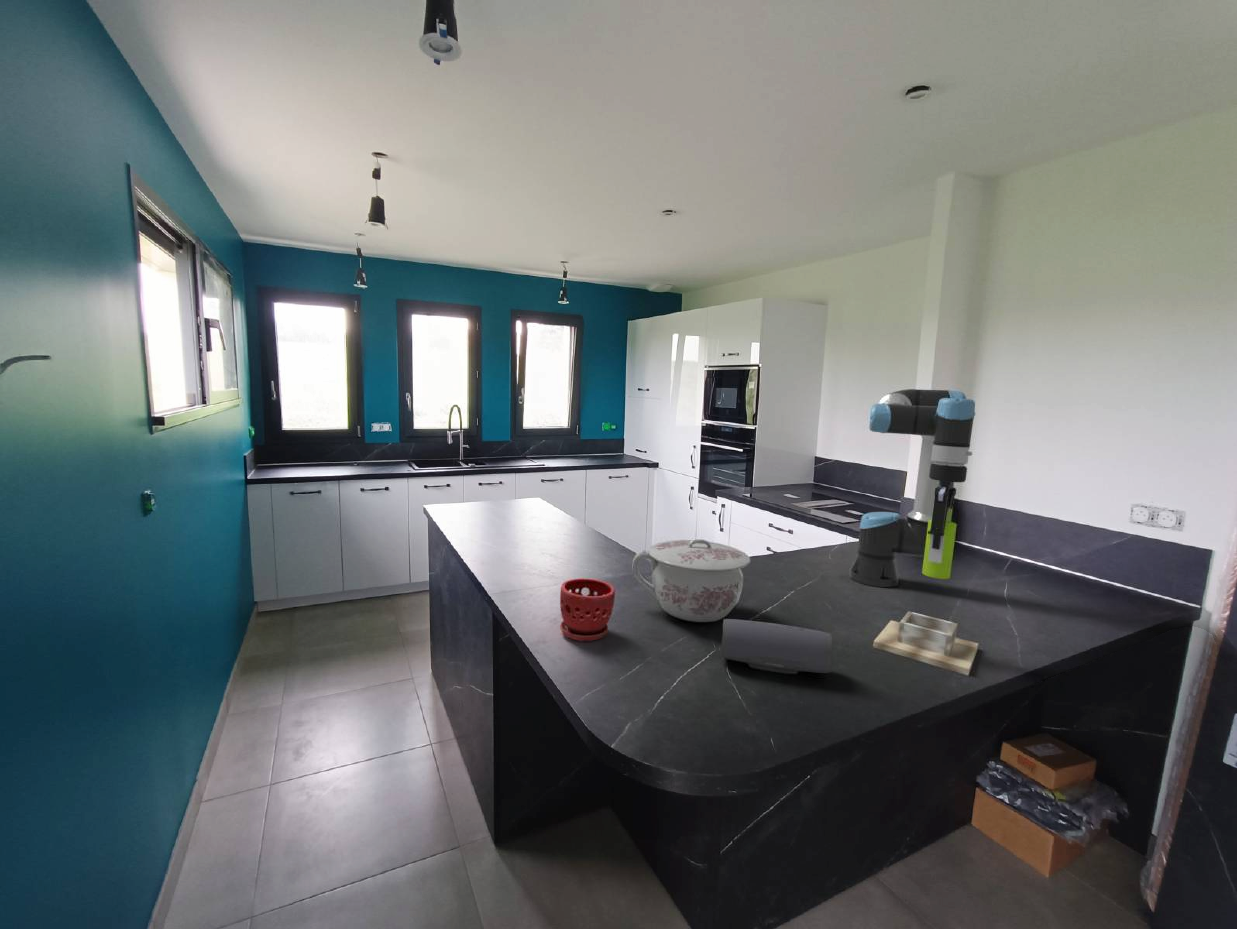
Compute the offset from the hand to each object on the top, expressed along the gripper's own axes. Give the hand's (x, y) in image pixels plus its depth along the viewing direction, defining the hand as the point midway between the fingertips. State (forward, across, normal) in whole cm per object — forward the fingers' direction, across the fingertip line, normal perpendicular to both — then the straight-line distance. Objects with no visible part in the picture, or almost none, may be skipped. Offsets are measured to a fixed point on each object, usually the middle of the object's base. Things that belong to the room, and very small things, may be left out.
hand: (936, 558), depth 134 cm
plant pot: (+23, -53, +65) cm, 87 cm away
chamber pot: (+23, -22, +53) cm, 62 cm away
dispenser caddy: (+23, 0, 0) cm, 23 cm away
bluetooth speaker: (+23, -37, +24) cm, 50 cm away
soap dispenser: (+4, 0, 0) cm, 4 cm away
